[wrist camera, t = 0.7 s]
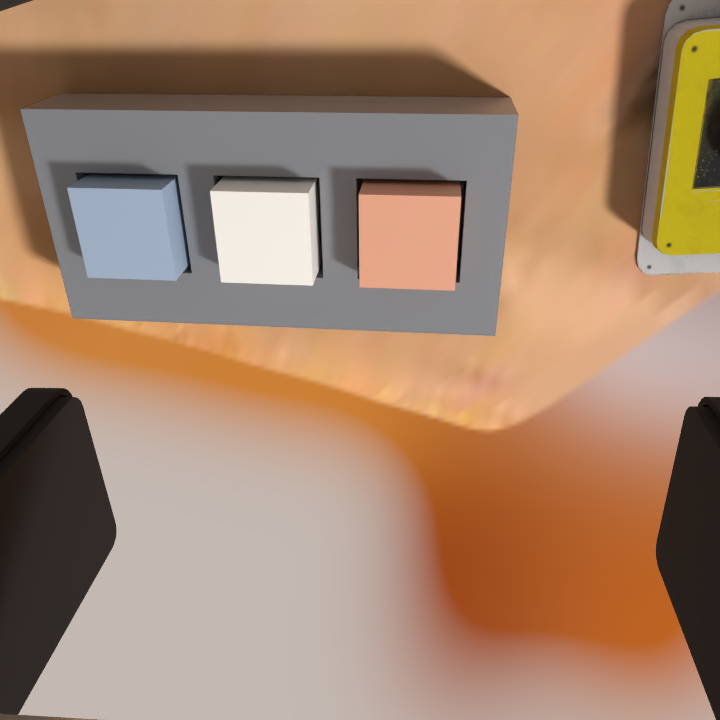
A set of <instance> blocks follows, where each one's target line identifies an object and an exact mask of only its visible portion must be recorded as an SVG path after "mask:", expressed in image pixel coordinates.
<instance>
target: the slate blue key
mask: <svg viewBox="0 0 720 720" xmlns="http://www.w3.org/2000/svg"><path fill="white" fill-rule="evenodd" d="M67 190H68V194H69V199H70V203H71V207H72V212H73V216H74V220H75V225H76V229H77V233H78V238H79V242H80V246H81V251H82V255H83V259H84V264H85V268H86V272H87V277H88V278H112V279H140V280H168V281H176V280H177V279H178V278H179V277H180V275H181V274H182V273H183V272H184V270H185V269H186V268H187V267H188V265H189V264H190V256H189V250H188V243H187V236H186V229H185V222H184V215H183V208H182V201H181V195H180V188H179V181H178V175H171V174H124V173H89V174H88V175H86V176H85V177H83V178H81V179H80V180H78V181H77V182H75V183H74V184H72V185H71V186H69V187H67Z"/></svg>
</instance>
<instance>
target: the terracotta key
mask: <svg viewBox="0 0 720 720" xmlns="http://www.w3.org/2000/svg"><path fill="white" fill-rule="evenodd" d="M460 209H461V185H460V181H459V180H411V179H364V180H363V183H362V186H361V189H360V192H359V278H360V287H364V288H392V289H420V290H447V291H455V282H456V268H457V253H458V238H459V223H460Z"/></svg>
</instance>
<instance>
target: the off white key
mask: <svg viewBox="0 0 720 720" xmlns="http://www.w3.org/2000/svg"><path fill="white" fill-rule="evenodd" d="M210 196H211V204H212V213H213V221H214V229H215V237H216V245H217V253H218V261H219V270H220V278H221V282H224V283H252V284H280V285H308V286H313V284H314V281H315V279H316V276H317V274H318V271H319V268H320V266H321V242H320V217H319V193H318V178H315V177H267V176H224V177H223V178H222V179H221V180H220V181H219V182H218V183H217V184H216V185H215V186H214V187H213V188H212V189H211V190H210Z"/></svg>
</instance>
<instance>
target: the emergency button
mask: <svg viewBox="0 0 720 720" xmlns="http://www.w3.org/2000/svg"><path fill="white" fill-rule="evenodd" d="M637 264H638V267H639V268H640V269H641V270H642V271H643V273H646V274H650V275H666V274H691V273H715V272H720V0H672V1H671V2H670V3H669V5H668V8H667V11H666V14H665V19H664V27H663V36H662V44H661V53H660V62H659V70H658V79H657V87H656V96H655V104H654V113H653V121H652V130H651V139H650V147H649V156H648V164H647V173H646V181H645V190H644V198H643V207H642V216H641V224H640V233H639V241H638V250H637Z"/></svg>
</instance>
